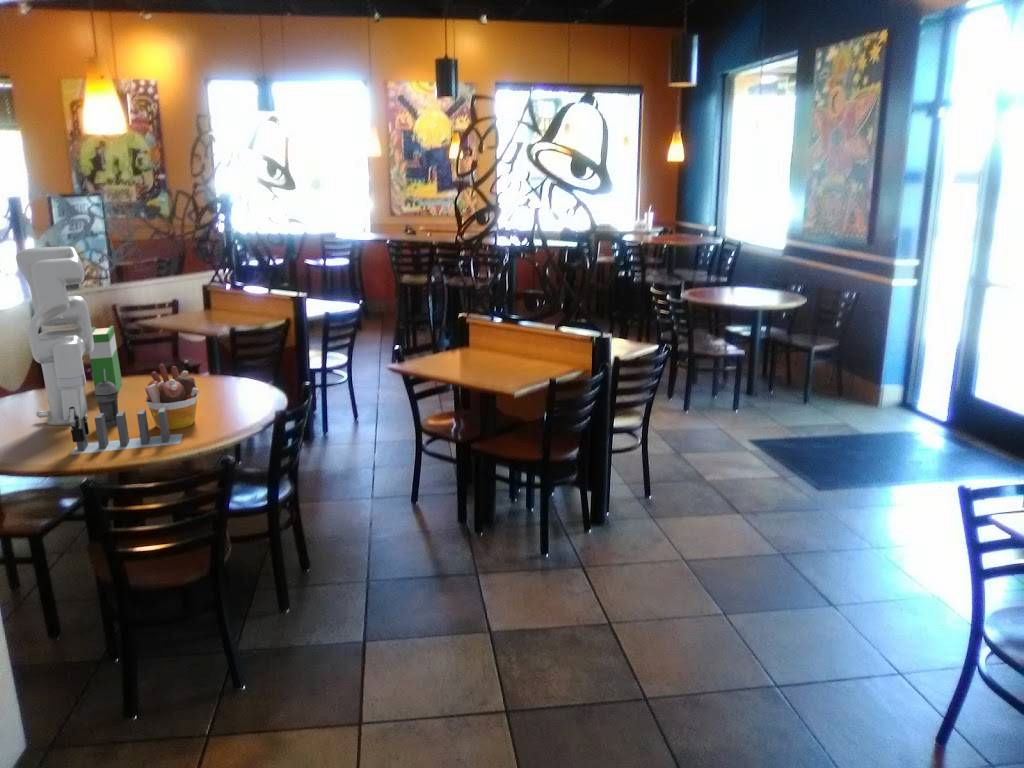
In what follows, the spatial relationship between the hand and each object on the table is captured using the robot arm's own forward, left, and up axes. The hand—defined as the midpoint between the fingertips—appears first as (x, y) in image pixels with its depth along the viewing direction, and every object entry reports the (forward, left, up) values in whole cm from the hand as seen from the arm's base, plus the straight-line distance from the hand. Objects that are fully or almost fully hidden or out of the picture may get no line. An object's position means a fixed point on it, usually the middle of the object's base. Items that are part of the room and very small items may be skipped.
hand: (81, 437), depth 252 cm
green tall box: (-5, +74, -4) cm, 74 cm away
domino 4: (+18, 0, -4) cm, 18 cm away
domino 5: (+24, 0, -4) cm, 24 cm away
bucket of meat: (+25, +17, -4) cm, 31 cm away
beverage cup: (+4, +24, -4) cm, 25 cm away
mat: (+13, 0, -4) cm, 14 cm away
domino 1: (0, 0, -4) cm, 4 cm away
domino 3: (+12, 0, -4) cm, 13 cm away
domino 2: (+6, 0, -4) cm, 7 cm away
